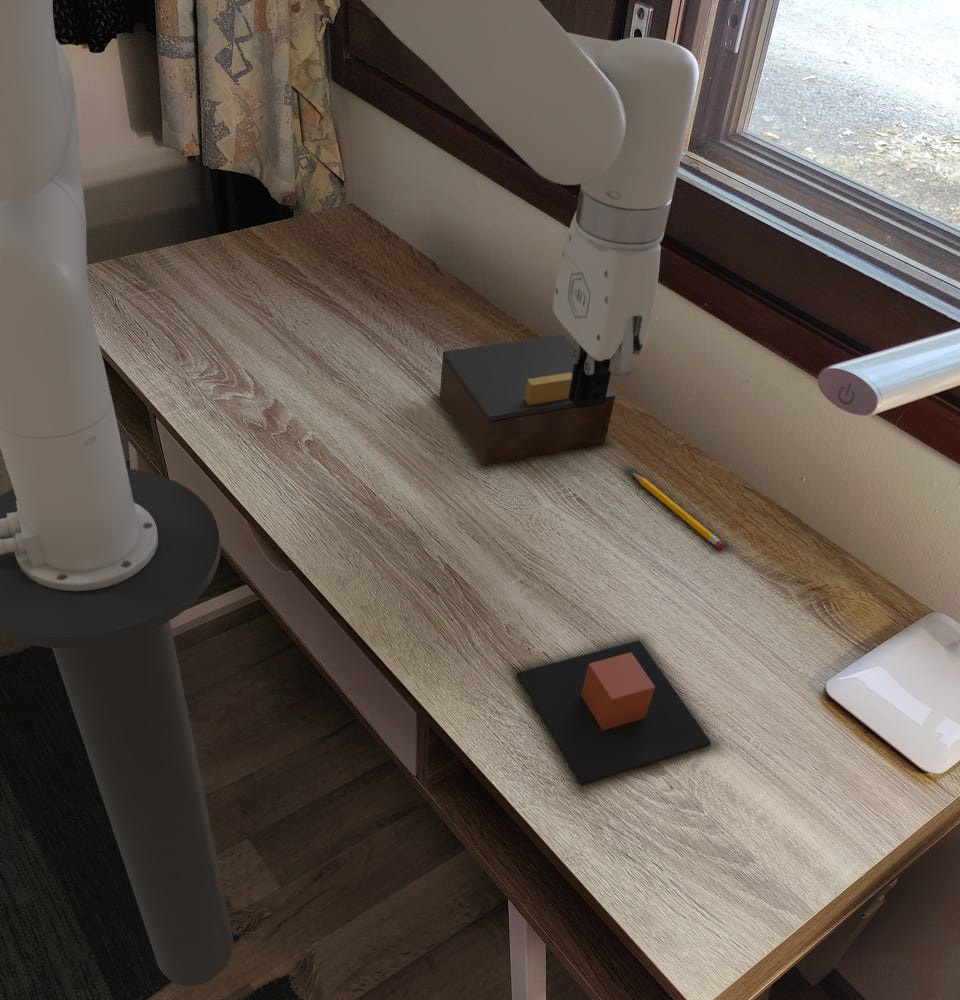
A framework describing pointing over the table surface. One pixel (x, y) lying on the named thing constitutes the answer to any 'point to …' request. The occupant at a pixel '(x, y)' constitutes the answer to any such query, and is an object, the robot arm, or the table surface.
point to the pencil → (680, 512)
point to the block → (617, 691)
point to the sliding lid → (517, 376)
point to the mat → (619, 746)
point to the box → (521, 426)
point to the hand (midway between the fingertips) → (586, 401)
